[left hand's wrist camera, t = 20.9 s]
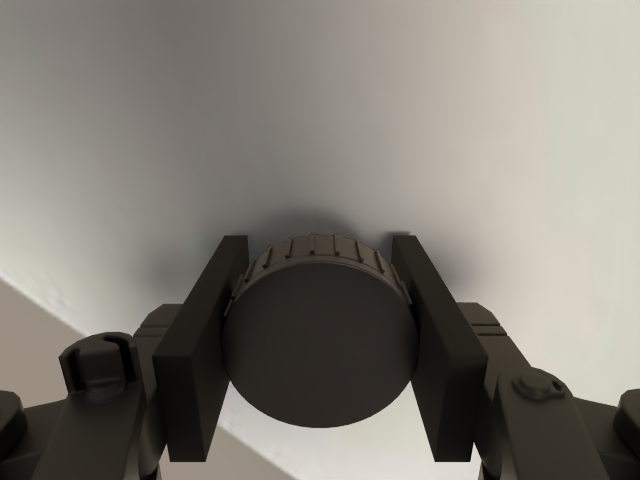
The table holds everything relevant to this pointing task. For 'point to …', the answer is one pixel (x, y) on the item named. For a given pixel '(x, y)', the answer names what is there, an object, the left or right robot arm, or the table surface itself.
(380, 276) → the lid
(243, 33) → the table surface
